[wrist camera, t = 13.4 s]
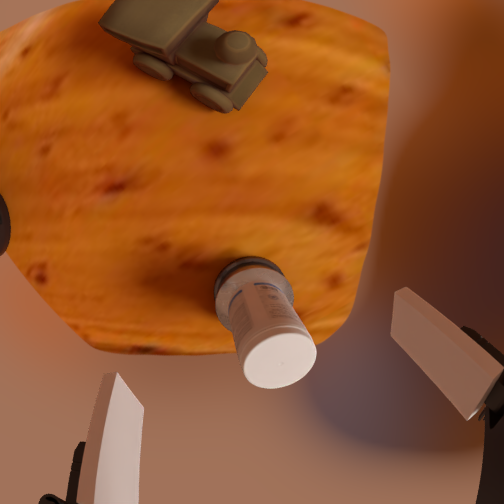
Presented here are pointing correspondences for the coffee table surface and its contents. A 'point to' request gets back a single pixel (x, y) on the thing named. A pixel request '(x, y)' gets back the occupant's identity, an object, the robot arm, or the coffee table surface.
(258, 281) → the supplement tub
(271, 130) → the coffee table surface
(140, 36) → the wooden toy train
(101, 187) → the coffee table surface
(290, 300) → the duct stub
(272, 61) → the coffee table surface
